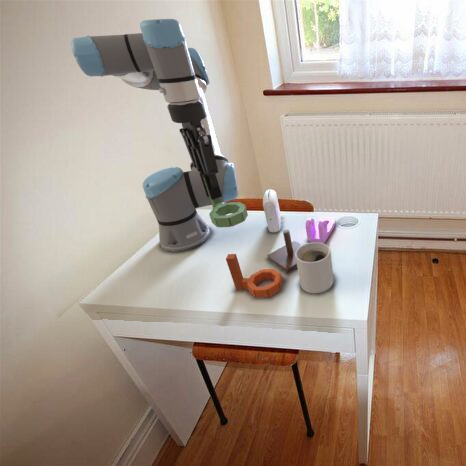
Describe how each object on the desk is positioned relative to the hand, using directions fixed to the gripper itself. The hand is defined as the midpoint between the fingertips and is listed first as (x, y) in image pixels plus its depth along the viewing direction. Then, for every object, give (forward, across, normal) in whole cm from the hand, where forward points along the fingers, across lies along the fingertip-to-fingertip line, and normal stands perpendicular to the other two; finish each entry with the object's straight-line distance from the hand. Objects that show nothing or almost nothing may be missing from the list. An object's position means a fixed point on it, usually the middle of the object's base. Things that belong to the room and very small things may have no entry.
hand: (214, 196), depth 85 cm
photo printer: (+22, -8, +20) cm, 30 cm away
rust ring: (+21, +16, -1) cm, 27 cm away
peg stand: (+21, +12, +12) cm, 27 cm away
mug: (+22, +25, +12) cm, 35 cm away
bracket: (+22, +8, +28) cm, 36 cm away
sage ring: (+4, +5, 0) cm, 7 cm away
